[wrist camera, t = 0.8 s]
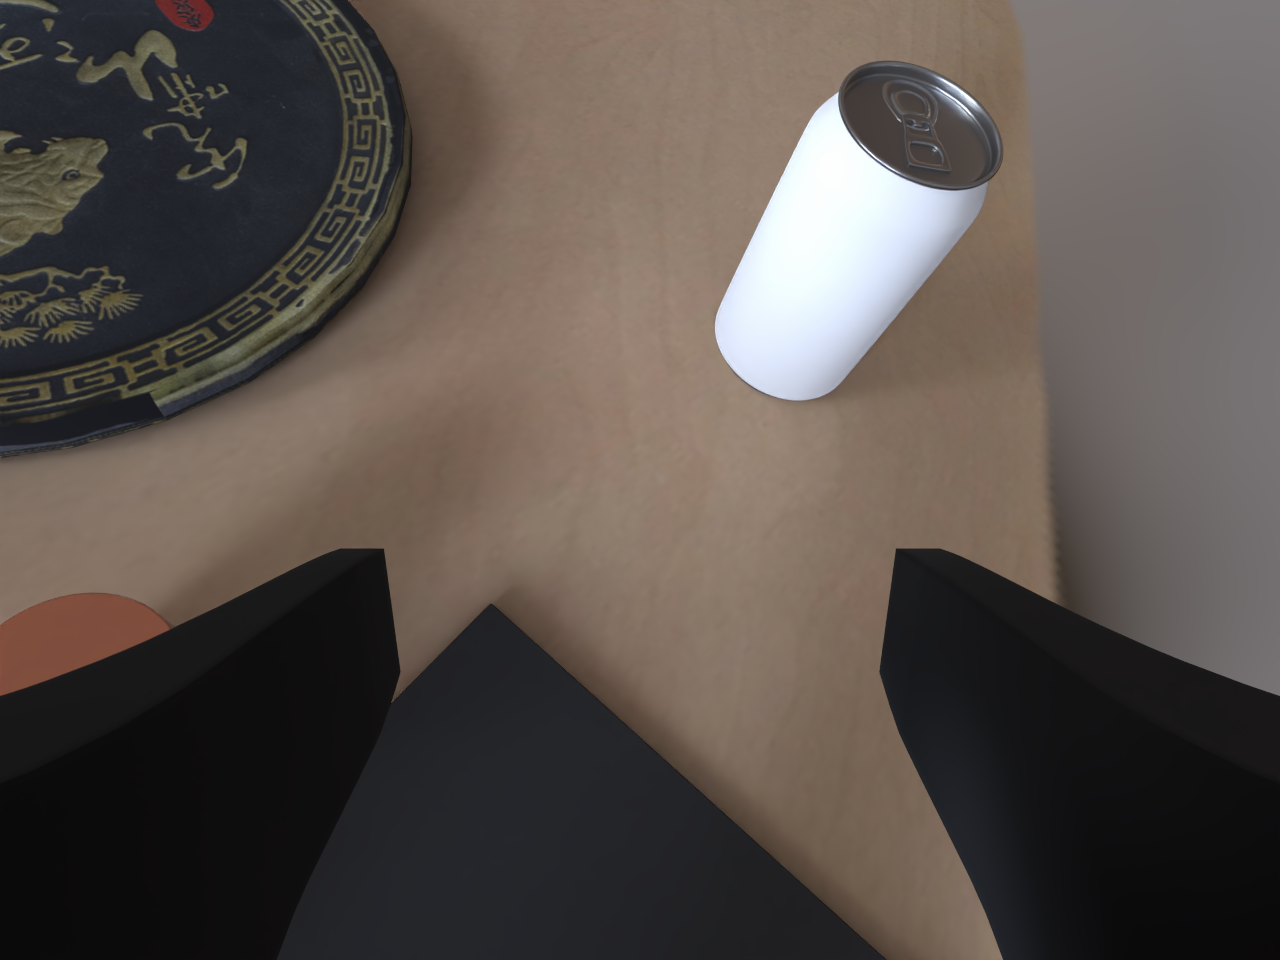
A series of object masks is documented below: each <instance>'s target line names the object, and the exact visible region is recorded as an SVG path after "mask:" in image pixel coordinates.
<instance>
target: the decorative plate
mask: <svg viewBox="0 0 1280 960" xmlns="http://www.w3.org/2000/svg"><path fill="white" fill-rule="evenodd" d="M411 161H412V131H411V125H410V121H409V117H408V113H407V109H406V105H405V101H404V97H403V93H402V89H401V85H400V81H399V78H398V75H397V72H396V70H395V68H394V66H393V65H392V63H391V61H390V59H389V57H388V55H387V53H386V52H385V50H384V48H383V46H382V44H381V42H380V41H379V39H378V37H377V35H376V33H375V31H374V30H373V29H372V28H371V26H370V25H369V24H368V23H367V22H366V21H365V20H364V18H363V17H362V16H361V15H360V14H359V13H358V12H357V10H356V9H355V8H354V7H353V6H352V5H351V4H350V2H349V1H348V0H0V458H1V457H9V456H16V455H23V454H30V453H37V452H44V451H52V450H59V449H66V448H72V447H76V446H79V445H83V444H86V443H90V442H93V441H97V440H100V439H104V438H107V437H111V436H114V435H117V434H121V433H124V432H128V431H131V430H135V429H138V428H142V427H145V426H149V425H152V424H156V423H159V422H163V421H166V420H169V419H171V418H173V417H175V416H177V415H180V414H182V413H184V412H186V411H188V410H190V409H193V408H195V407H197V406H199V405H201V404H203V403H206V402H208V401H210V400H212V399H214V398H216V397H219V396H221V395H223V394H225V393H227V392H229V391H231V390H234V389H236V388H238V387H240V386H242V385H244V384H247V383H249V382H250V381H252V380H253V379H255V378H256V377H257V376H259V375H260V374H262V373H263V372H265V371H266V370H268V369H269V368H271V367H272V366H273V365H275V364H276V363H278V362H279V361H281V360H282V359H284V358H285V357H287V356H288V355H289V354H291V353H292V352H294V351H295V350H297V349H298V348H300V347H301V346H303V345H304V344H305V343H307V342H308V341H310V340H311V339H313V338H314V337H315V336H316V335H317V334H318V333H319V332H320V331H321V330H322V329H323V328H324V327H325V326H326V325H327V324H328V323H329V322H330V321H331V320H332V319H333V318H334V317H335V316H336V315H337V314H338V312H339V311H340V310H341V309H342V308H343V307H344V306H345V305H346V304H347V303H348V302H349V301H350V300H351V299H352V298H353V297H354V296H355V295H356V294H357V293H358V292H359V291H360V290H361V289H362V287H363V286H364V284H365V283H366V281H367V279H368V278H369V276H370V274H371V273H372V271H373V270H374V268H375V266H376V265H377V263H378V262H379V260H380V258H381V257H382V255H383V254H384V252H385V250H386V249H387V247H388V246H389V244H390V242H391V241H392V239H393V237H394V236H395V233H396V230H397V226H398V223H399V220H400V217H401V214H402V211H403V208H404V204H405V201H406V198H407V195H408V192H409V189H410V186H411Z"/></svg>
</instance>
